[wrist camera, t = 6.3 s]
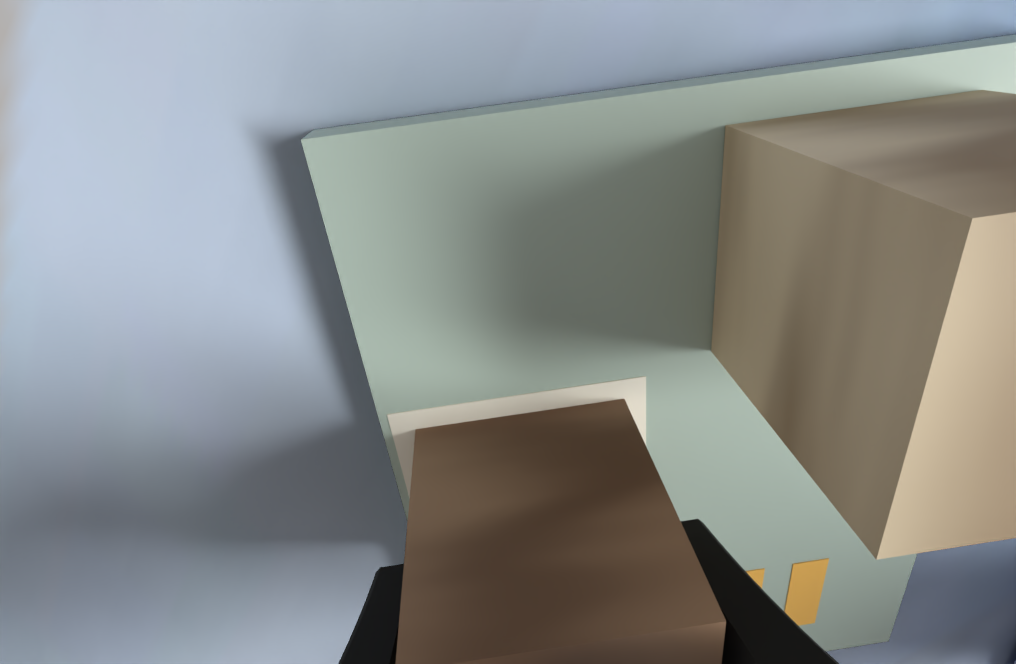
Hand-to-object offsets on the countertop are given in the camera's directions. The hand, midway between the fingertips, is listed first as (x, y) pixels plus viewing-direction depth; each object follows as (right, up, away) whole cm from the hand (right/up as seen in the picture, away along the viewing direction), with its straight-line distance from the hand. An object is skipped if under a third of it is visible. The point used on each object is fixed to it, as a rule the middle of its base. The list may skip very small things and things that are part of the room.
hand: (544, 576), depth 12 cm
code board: (+3, +2, +3) cm, 5 cm away
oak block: (+6, +7, 0) cm, 9 cm away
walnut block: (0, +1, +2) cm, 2 cm away
